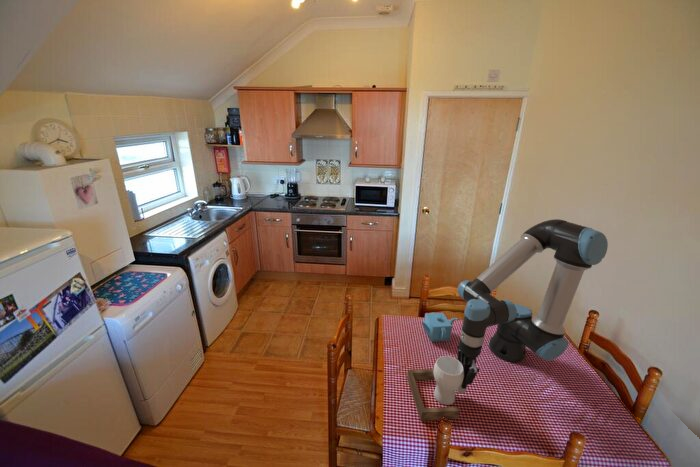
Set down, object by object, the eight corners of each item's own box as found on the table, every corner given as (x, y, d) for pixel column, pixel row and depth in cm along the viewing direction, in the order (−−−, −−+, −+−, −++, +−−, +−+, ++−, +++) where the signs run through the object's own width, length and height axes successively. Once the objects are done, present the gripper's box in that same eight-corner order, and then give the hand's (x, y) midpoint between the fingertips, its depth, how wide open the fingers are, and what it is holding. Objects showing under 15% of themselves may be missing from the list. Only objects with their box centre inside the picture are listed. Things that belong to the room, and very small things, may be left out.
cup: (461, 411, 108) (467, 379, 103) (430, 405, 110) (435, 373, 105) (457, 387, 118) (462, 357, 113) (429, 382, 120) (433, 352, 115)
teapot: (414, 327, 153) (416, 308, 149) (448, 325, 155) (451, 306, 151) (425, 348, 138) (427, 328, 135) (462, 346, 140) (466, 326, 137)
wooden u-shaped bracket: (439, 376, 123) (440, 368, 122) (458, 419, 105) (459, 410, 104) (406, 377, 122) (407, 370, 121) (420, 420, 104) (421, 412, 103)
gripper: (453, 329, 112) (444, 378, 120) (469, 354, 100) (458, 407, 108) (472, 329, 112) (463, 377, 120) (490, 353, 100) (478, 406, 108)
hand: (460, 391), depth 114 cm, fingers closed
